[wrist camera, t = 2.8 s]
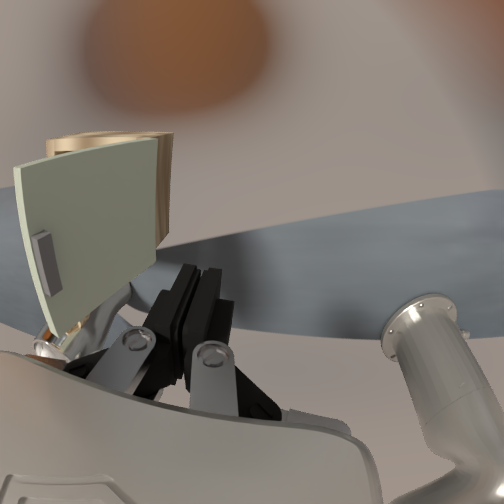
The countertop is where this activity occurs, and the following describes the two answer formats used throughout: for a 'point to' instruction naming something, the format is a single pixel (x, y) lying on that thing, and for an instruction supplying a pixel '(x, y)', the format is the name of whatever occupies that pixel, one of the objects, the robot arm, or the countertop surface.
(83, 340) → the beer glass
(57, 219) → the box lid
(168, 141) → the light wooden box
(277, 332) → the countertop surface
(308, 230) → the countertop surface
